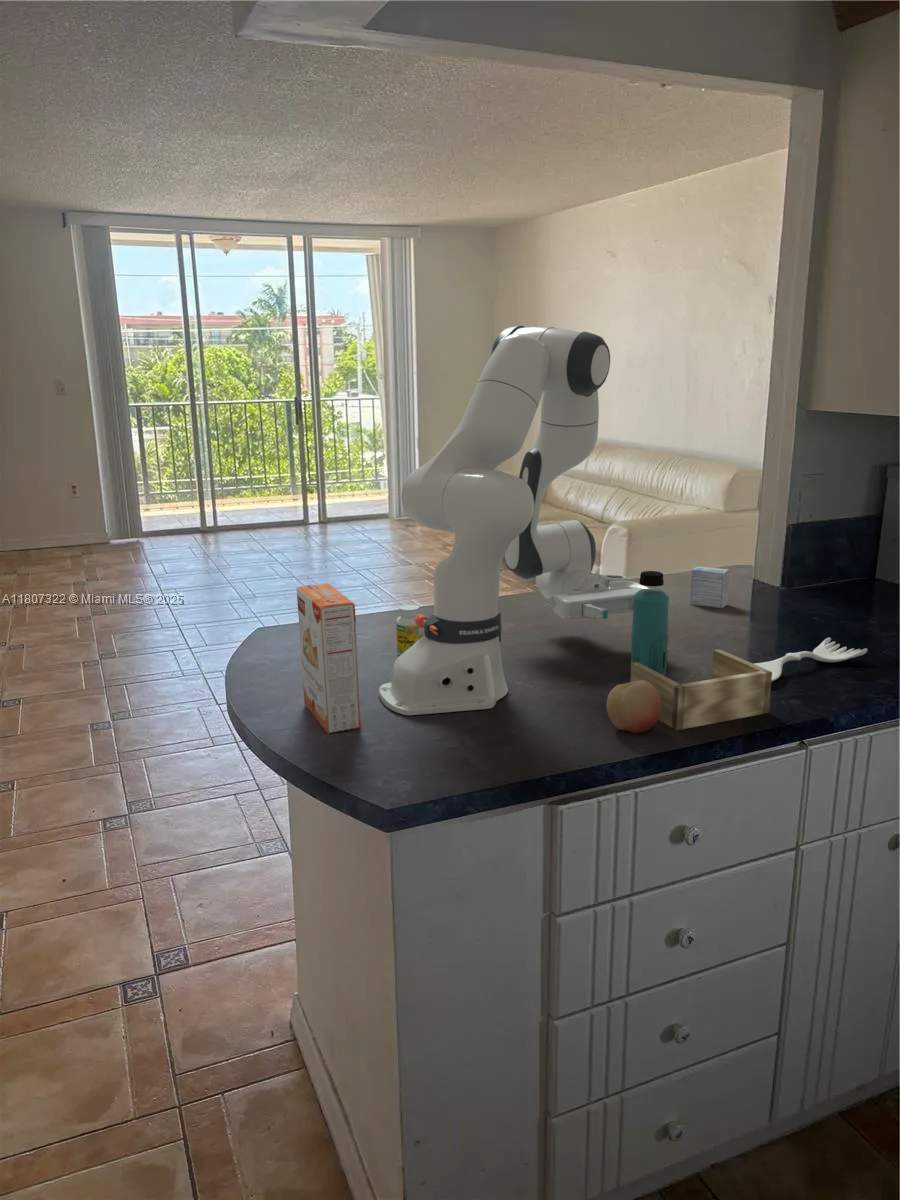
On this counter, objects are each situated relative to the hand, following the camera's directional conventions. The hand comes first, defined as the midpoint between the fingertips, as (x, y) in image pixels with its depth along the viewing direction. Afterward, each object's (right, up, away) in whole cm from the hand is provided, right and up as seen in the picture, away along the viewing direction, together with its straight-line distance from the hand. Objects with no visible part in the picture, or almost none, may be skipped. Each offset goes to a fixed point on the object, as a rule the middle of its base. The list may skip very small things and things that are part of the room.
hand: (626, 611), depth 162 cm
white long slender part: (+30, -11, 0) cm, 32 cm away
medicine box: (+29, +1, +46) cm, 54 cm away
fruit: (-4, -18, -25) cm, 32 cm away
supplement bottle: (-41, -9, +13) cm, 43 cm away
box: (+8, -16, -17) cm, 25 cm away
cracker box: (-52, -17, -19) cm, 58 cm away
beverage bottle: (+3, -12, -4) cm, 13 cm away
